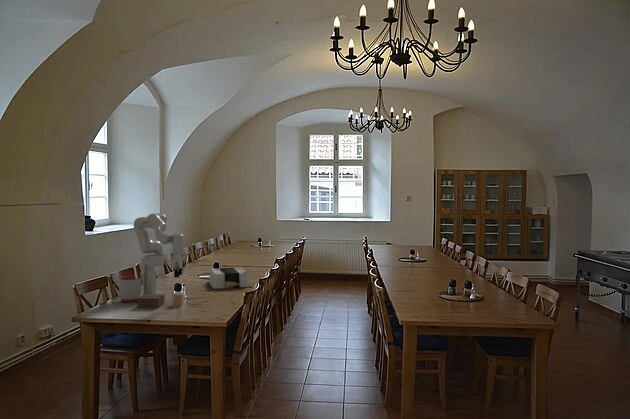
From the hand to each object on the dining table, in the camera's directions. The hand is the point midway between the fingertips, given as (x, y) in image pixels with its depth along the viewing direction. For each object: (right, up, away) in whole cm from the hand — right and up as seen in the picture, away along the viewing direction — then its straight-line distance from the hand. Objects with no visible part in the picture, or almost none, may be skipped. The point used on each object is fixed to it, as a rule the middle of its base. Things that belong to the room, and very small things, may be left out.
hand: (178, 276), depth 347 cm
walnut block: (-18, -21, -2) cm, 27 cm away
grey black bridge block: (+22, -18, +75) cm, 80 cm away
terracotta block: (0, -20, +1) cm, 20 cm away
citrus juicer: (-37, -20, +12) cm, 44 cm away
